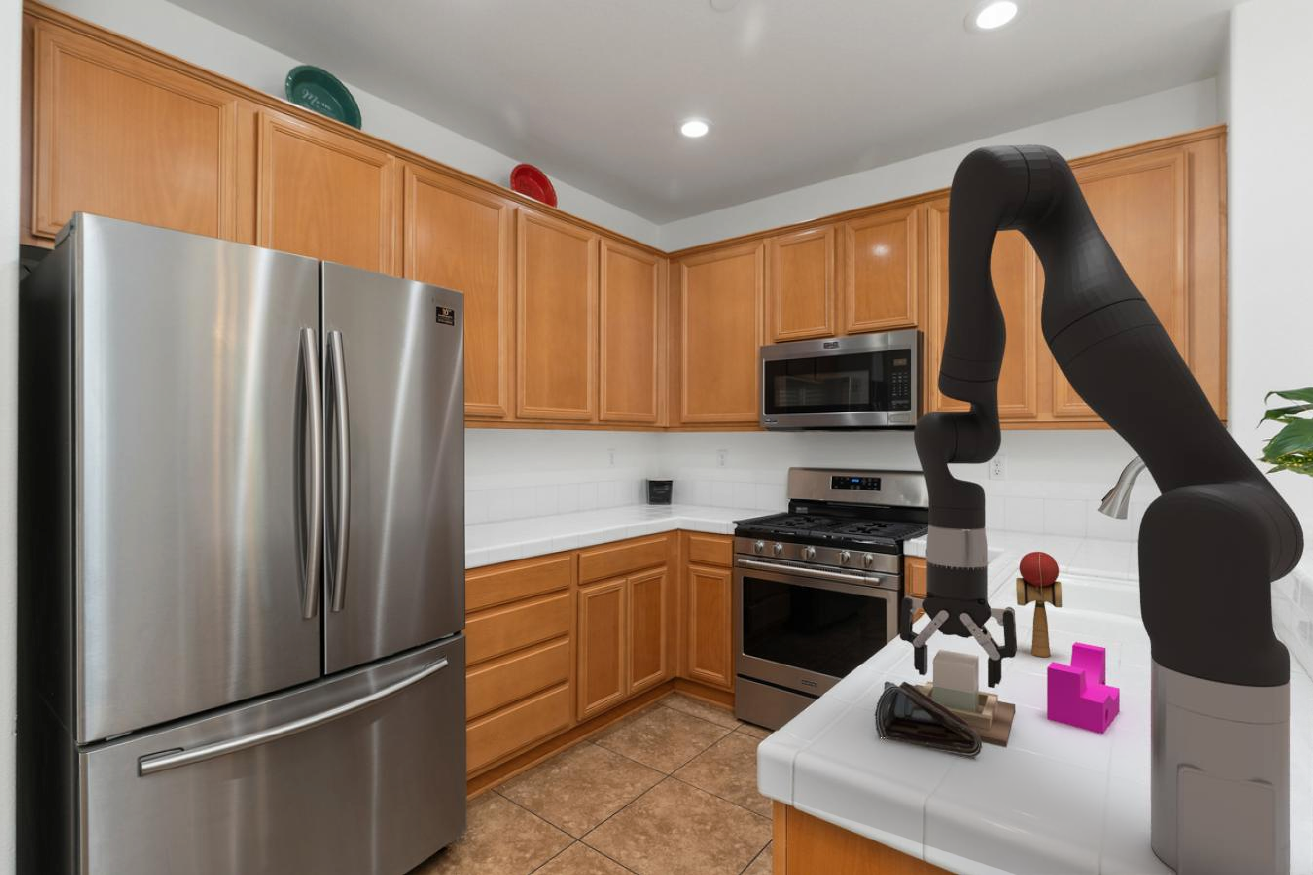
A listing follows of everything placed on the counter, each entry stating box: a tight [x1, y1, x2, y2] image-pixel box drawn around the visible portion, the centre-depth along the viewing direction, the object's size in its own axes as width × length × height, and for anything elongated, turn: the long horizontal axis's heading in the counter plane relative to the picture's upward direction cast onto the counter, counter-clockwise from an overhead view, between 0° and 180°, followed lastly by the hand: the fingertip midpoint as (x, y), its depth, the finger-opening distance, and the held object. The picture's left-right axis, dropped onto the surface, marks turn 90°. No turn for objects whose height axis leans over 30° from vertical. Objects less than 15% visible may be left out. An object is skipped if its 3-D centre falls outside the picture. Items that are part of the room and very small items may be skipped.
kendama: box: [1015, 551, 1063, 658], centre depth 113 cm, size 8×6×18 cm
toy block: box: [1046, 641, 1121, 735], centre depth 90 cm, size 15×6×8 cm, turn 135°
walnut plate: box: [914, 681, 1016, 748], centre depth 87 cm, size 13×13×3 cm
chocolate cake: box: [874, 681, 983, 758], centre depth 81 cm, size 10×7×12 cm
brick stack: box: [932, 649, 980, 713], centre depth 87 cm, size 5×5×7 cm
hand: (956, 679), depth 87 cm, fingers open, 8 cm apart
